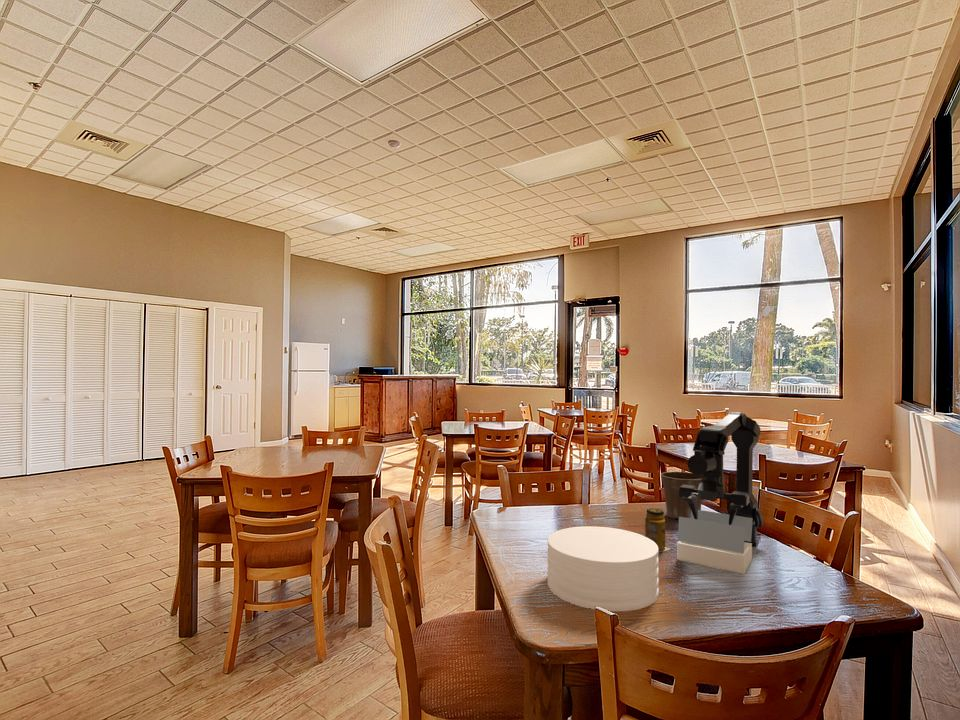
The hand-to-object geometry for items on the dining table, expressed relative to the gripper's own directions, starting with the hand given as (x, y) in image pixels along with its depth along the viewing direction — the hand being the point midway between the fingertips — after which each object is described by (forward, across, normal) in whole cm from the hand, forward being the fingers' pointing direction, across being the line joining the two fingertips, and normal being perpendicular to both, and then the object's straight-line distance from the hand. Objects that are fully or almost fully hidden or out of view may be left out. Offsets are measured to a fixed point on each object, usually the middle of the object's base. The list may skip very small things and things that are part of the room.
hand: (712, 524), depth 150 cm
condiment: (+11, -18, +1) cm, 21 cm away
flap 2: (+2, 0, +10) cm, 10 cm away
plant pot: (+11, -20, +44) cm, 50 cm away
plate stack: (+12, -20, -36) cm, 42 cm away
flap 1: (+2, 0, -3) cm, 4 cm away
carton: (+11, 0, +2) cm, 11 cm away
